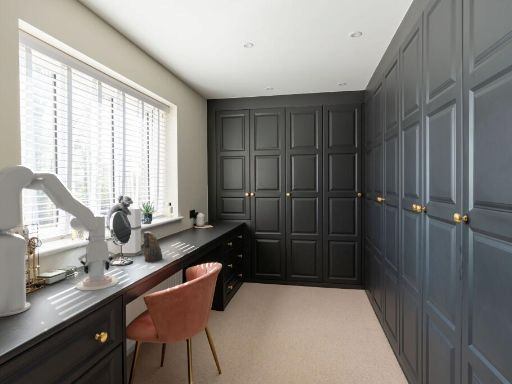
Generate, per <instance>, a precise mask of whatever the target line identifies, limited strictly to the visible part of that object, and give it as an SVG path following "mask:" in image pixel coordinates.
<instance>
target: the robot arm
mask: <svg viewBox="0 0 512 384" xmlns="http://www.w3.org/2000/svg"><path fill="white" fill-rule="evenodd" d="M24 189H25V190H34V191H42V192H43V193H44V194H45V195H46V196H47V197H48V198H49V200H50V201H51V202H52V203H53V205H54V206H55V207H57V208H58V209H60V210H62V211H64V212H66V213H68V214H70V215H71V216H73V217H72V218H71V219H70V222H69V225H70V227H71V229H72V230H73V231H78V232H88V236H87V237H85V241H87V242H86V249H85V253H84V254H82V255H80V256H79V257H78V258H77V259H78V262H79V263H80V264H81V265H83V272H84V273H85V274H86V275H87V274H88V275H89V263H90V262H95V261H99V260H101V261H102V260H103V261H105V263H104V270H105V271H109V269H110V262H111V261H112V260H113V258H114V256H115V255H116V254H115V253H114V252H112V251H109V245H108V244H109V243H108V241H107V240H106V217H105V215H103V214H95V213H93V212H94V211H92V210H91V209H90V208H89V207H88V206H87V205H86V204H85V203H84V202H82V201H81V200H80V199H78V198H77V197H76V196H74V195H73V194H72V192H71V191H70V189H69V188H68V187H67V185H66V184H65V183H64V181H63V180H61V178H60V177H59V176H58V174H56V173H55V172H51V171H34V169H33V168H31V167H30V166H28V165H24V164H23V165H22V164H21V165H9V166H5V167H3V168H1V169H0V317H8V316H9V317H10V316H12V315H18V314H20V313H23V312H25V311H27V310H29V309H30V308H31V306H32V305H31V304H32V303H31V302H28V301H27V296H26V295H27V291H26V289H27V288H26V286H27V285H26V283H27V282H26V260H27V259H26V258H27V253H28V242H27V240H26V239H25V237H24V236H22V235H20V234H17V233H12V231H14V230H16V229H18V228H19V227H21V224H22V210H21V209H22V208H21V195H22V192H23V190H24ZM84 258H85V261H84V260H83V259H84Z"/></svg>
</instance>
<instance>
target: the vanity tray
mask: <svg viewBox="0 0 512 384" xmlns="http://www.w3.org/2000/svg"><path fill="white" fill-rule="evenodd" d="M119 281H120V280H119V278H117V277H115V276H114V277H113V276H112V275H111V274H110V275H109V274H104V280H103V281H97V282H89V276H87V277H84V278H83V280H81V281H79V282H78V283H76V284H75V285H74V286H75V288H74V289H76V290H78V291H82V292H84V291H85V292H90V291H98V290H104V289H108V288H112V287H114V286H116V285H118V284H119Z"/></svg>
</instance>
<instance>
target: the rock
mask: <svg viewBox="0 0 512 384" xmlns="http://www.w3.org/2000/svg"><path fill="white" fill-rule="evenodd" d="M143 239H144V241H143V247H142V250H143V255H144V262H145V263H155V262H158V261H161V260H164V258H163V254H162V249H161V247H160V243H159V242H158V239H157V236H155V235H154V233H153V232H151V231H150V230H148V231H144V232H143Z"/></svg>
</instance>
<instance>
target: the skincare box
mask: <svg viewBox="0 0 512 384" xmlns="http://www.w3.org/2000/svg"><path fill="white" fill-rule="evenodd" d="M104 275H105V263H104V260H102V261H101V260H99V261H95V262H90V263H89V264H88V277H89V282H97V281H103V280H104Z"/></svg>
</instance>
